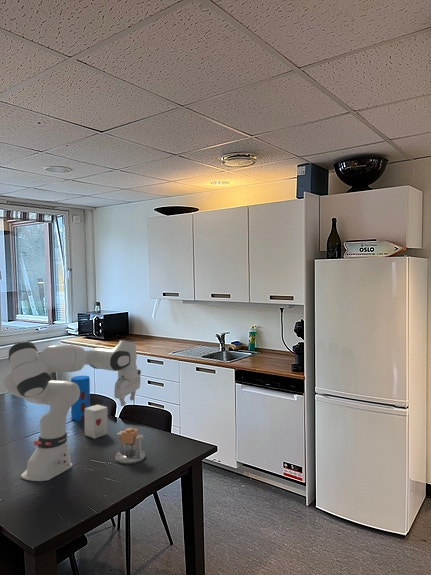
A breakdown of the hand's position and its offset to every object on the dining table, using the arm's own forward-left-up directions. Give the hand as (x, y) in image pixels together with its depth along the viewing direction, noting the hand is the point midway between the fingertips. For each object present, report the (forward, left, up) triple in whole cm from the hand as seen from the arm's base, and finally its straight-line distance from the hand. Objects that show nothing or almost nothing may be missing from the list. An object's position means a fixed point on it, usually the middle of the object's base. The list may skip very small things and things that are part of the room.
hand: (127, 402), depth 202 cm
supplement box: (+23, +30, -26) cm, 46 cm away
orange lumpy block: (-1, -1, -18) cm, 18 cm away
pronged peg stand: (-1, -1, -26) cm, 26 cm away
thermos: (+46, +53, -26) cm, 75 cm away
